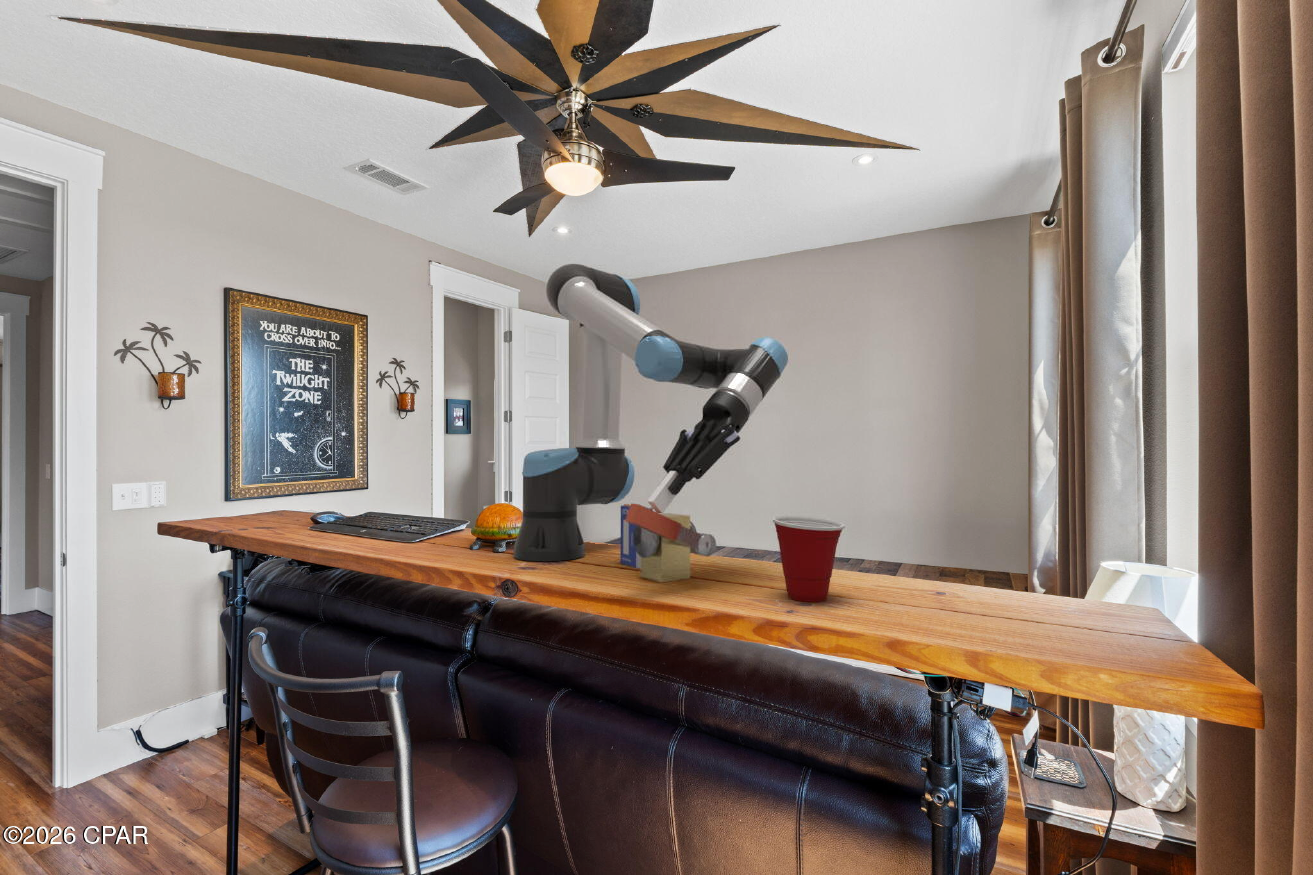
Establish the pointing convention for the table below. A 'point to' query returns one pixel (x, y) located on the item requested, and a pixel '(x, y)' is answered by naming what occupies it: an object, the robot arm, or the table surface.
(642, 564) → the valve pipe
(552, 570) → the table surface
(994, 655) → the table surface
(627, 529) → the walkman
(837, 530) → the plastic cup
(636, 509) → the valve lever
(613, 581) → the table surface
